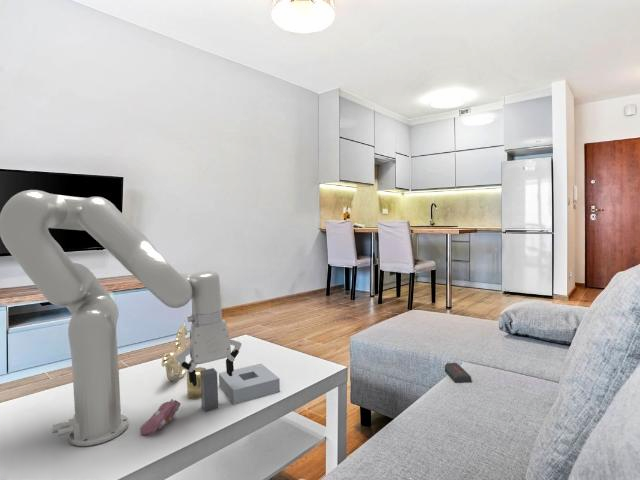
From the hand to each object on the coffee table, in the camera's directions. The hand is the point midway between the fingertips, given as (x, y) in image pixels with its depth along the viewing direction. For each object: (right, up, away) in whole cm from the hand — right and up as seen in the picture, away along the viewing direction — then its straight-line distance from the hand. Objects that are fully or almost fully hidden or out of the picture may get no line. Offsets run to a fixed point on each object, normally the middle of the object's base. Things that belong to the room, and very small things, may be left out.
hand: (212, 379), depth 102 cm
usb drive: (+73, -6, +18) cm, 76 cm away
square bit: (-1, -8, 0) cm, 8 cm away
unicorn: (-17, -7, +19) cm, 27 cm away
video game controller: (-10, -9, -9) cm, 16 cm away
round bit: (-7, -8, +8) cm, 13 cm away
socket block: (+8, -7, +11) cm, 15 cm away
